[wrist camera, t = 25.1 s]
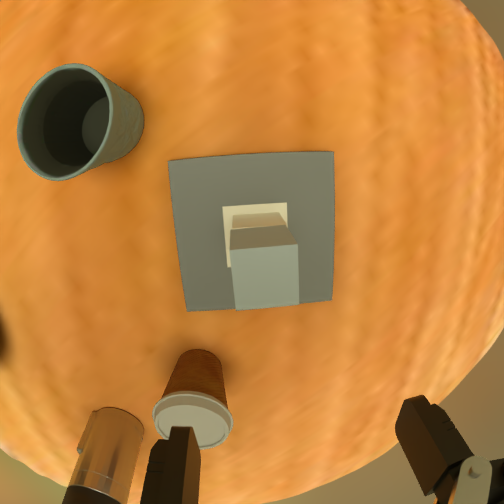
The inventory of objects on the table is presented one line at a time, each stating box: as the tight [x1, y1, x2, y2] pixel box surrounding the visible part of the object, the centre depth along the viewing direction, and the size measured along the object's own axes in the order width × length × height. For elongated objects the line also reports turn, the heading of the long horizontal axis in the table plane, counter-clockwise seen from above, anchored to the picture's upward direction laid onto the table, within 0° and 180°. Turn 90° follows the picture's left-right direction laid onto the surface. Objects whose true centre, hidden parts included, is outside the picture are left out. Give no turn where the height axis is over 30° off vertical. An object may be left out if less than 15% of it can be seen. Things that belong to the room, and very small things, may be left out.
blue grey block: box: [229, 225, 299, 311], centre depth 27 cm, size 5×5×6 cm
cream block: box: [232, 212, 287, 229], centre depth 32 cm, size 5×5×6 cm
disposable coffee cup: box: [152, 350, 233, 449], centre depth 37 cm, size 10×10×12 cm
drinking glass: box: [17, 63, 144, 181], centre depth 26 cm, size 10×10×12 cm
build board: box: [168, 151, 335, 312], centre depth 36 cm, size 18×18×2 cm
